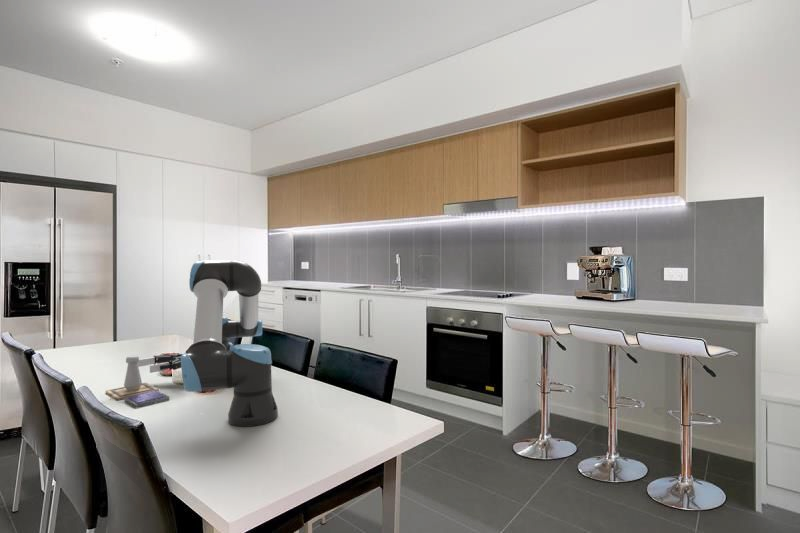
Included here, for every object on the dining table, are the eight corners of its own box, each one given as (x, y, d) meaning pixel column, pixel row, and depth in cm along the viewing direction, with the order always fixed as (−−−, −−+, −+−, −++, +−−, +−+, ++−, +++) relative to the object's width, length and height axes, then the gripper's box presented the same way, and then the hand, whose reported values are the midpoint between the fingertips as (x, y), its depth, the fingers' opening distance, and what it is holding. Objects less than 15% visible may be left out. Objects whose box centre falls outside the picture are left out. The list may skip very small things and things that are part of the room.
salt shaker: (135, 392, 167) (134, 358, 166) (120, 392, 167) (119, 358, 167) (145, 387, 173) (144, 354, 172) (130, 387, 173) (130, 354, 173)
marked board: (159, 391, 170) (159, 388, 170) (117, 400, 160) (117, 397, 160) (145, 384, 180) (145, 381, 180) (105, 392, 169) (105, 390, 169)
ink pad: (169, 399, 160) (169, 395, 160) (135, 407, 152) (135, 403, 152) (157, 393, 168) (157, 389, 168) (124, 401, 159) (124, 396, 159)
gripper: (211, 370, 181) (156, 381, 165) (184, 360, 197) (132, 370, 181) (211, 351, 181) (155, 361, 164) (184, 343, 197) (131, 352, 181)
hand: (143, 366), depth 173 cm, fingers open, 13 cm apart
